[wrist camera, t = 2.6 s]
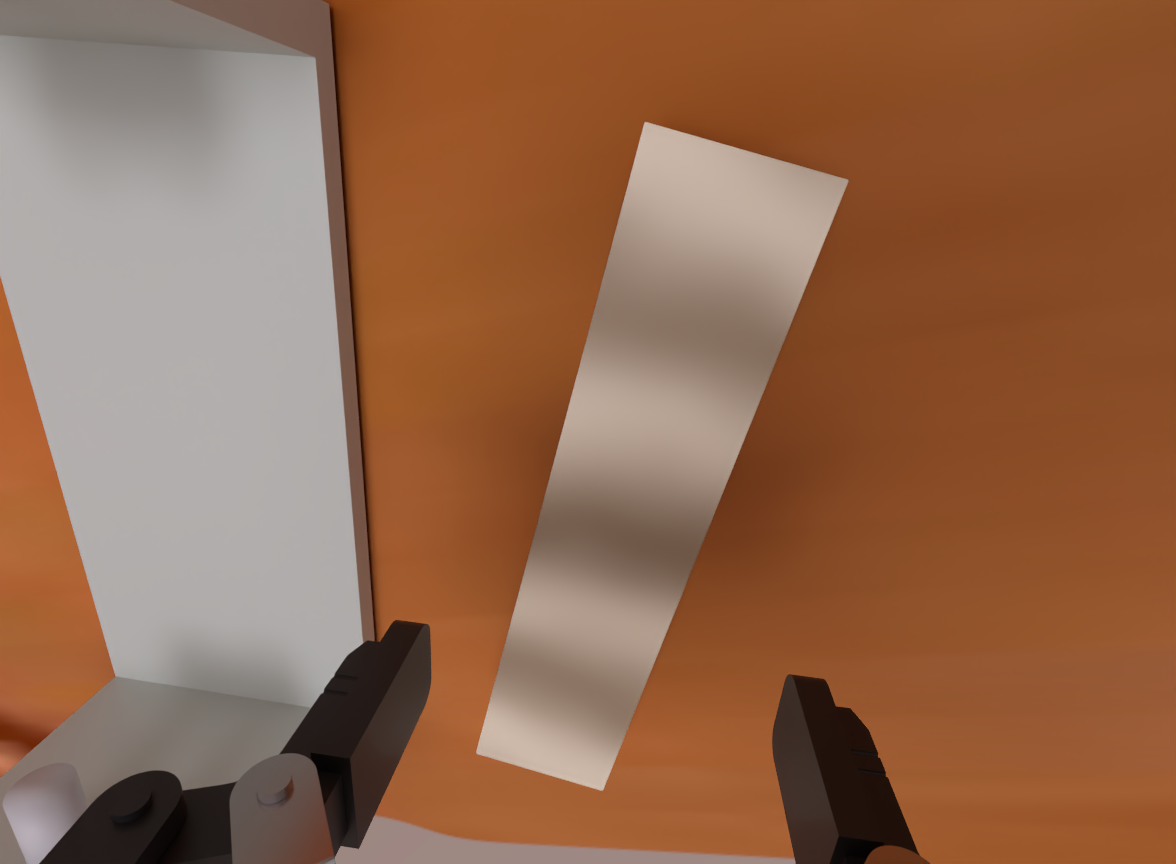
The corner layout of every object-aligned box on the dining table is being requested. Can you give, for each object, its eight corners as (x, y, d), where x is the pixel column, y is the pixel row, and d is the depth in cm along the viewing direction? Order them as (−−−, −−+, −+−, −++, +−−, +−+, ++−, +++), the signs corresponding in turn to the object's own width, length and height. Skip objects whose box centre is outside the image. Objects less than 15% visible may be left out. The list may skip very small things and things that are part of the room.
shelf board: (648, 136, 18) (644, 121, 14) (809, 182, 18) (848, 180, 14) (501, 674, 26) (475, 753, 23) (610, 706, 26) (602, 790, 23)
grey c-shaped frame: (-50, -20, 18) (-1178, -359, 7) (328, 4, 17) (-280, -342, 6) (140, 684, 29) (-190, 993, 18) (380, 723, 28) (192, 1075, 17)
